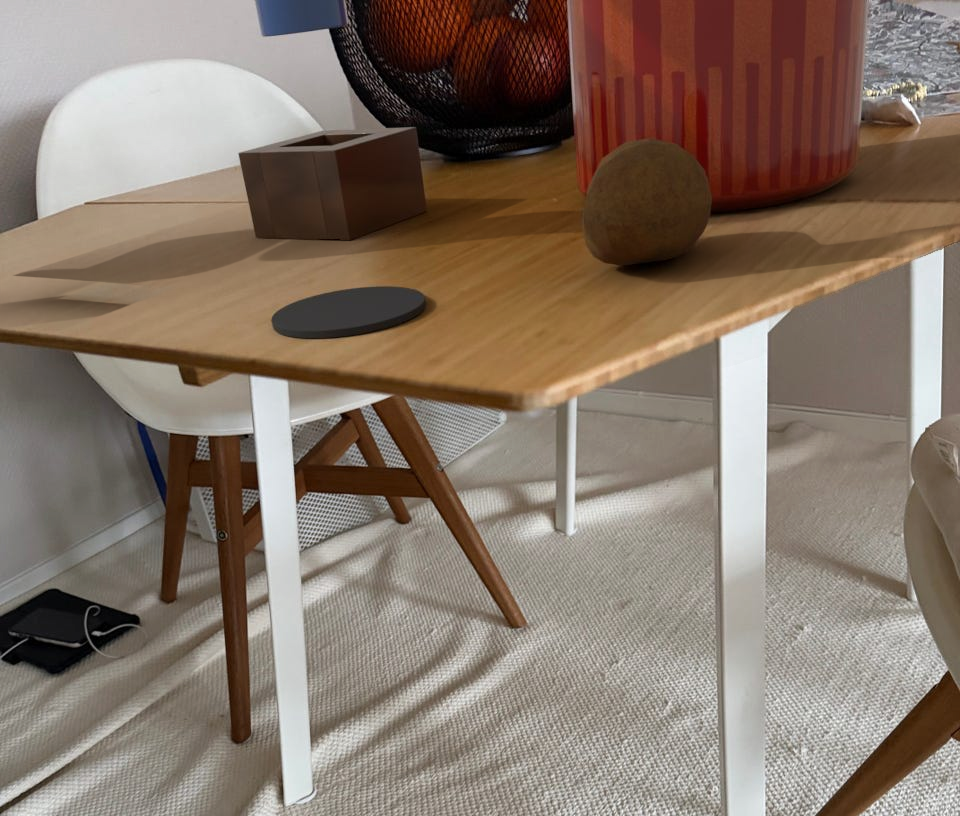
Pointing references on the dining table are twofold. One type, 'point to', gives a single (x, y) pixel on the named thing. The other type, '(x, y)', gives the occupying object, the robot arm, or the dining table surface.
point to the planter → (723, 89)
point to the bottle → (299, 16)
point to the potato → (645, 203)
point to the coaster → (348, 312)
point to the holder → (334, 183)
